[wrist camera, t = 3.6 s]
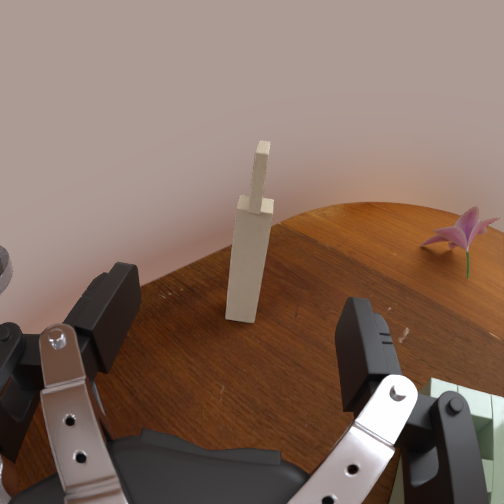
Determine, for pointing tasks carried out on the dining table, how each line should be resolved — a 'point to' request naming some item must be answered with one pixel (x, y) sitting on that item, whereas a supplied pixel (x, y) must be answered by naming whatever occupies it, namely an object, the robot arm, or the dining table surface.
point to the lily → (462, 231)
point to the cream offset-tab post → (250, 243)
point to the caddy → (488, 434)
